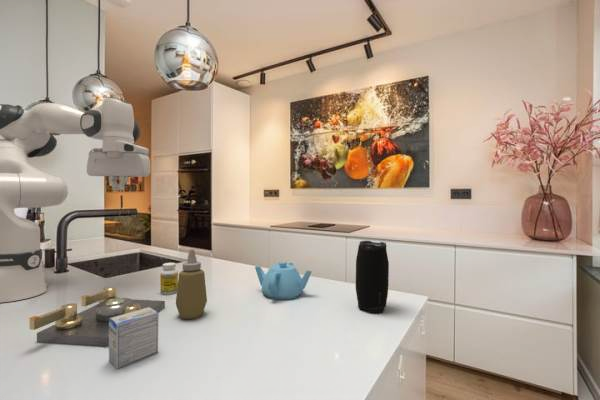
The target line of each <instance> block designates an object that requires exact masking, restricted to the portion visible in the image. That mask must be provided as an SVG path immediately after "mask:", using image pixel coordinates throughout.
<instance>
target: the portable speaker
mask: <svg viewBox="0 0 600 400" xmlns="http://www.w3.org/2000/svg"><path fill="white" fill-rule="evenodd" d="M388 256H389V255H388V252H387V243H386V242H383V241H380V242H376V241H375V242H374V241H371V240H361V241H359V244H358V248H357V255H356V260H355V293H356V300H357V307H358V309H359V310H362V309H364V310H368V311H369V313H370V314H373V315H375V314H377V315H378V314H382V313H384V311H385V309H386V306H387V300H388V295H389V278H390V277H389V275H390V274H389V273H390V272H389V270H390V267H389V266H390V265H389V263H390V262H389V257H388Z"/></svg>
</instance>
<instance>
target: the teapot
mask: <svg viewBox="0 0 600 400" xmlns="http://www.w3.org/2000/svg"><path fill="white" fill-rule="evenodd" d="M254 269H255V273H256V275H257V278H258V281H259V283H260V287H261V291H262V293H263V294H264V295H265V296H266V297H267V298H269V299H273V300H279V301H280V300H282V301H283V300H292V299H295V298H298V297H299V296H300V295H301V293H302V292H303V290H304V289H305V288H306V286H307V284H308V282H309V279H310V277H311V274H312V273H313V271H312V270H307V269H306V271H305V273H304V274H303V276H301V275H300V273H299V271H298V270H297V268H296V266H294V262H287V261H279V262H278V264H275V265H274V264H273V265H271V266H270V267H269V268H268V270H267V272H266V273H265V271H264V270H263V269H262V266H260V265H258V266H257V265H256V266H254Z"/></svg>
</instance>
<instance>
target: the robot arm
mask: <svg viewBox="0 0 600 400" xmlns="http://www.w3.org/2000/svg"><path fill="white" fill-rule="evenodd" d="M134 114H135V113H134V109H133V106H132V104H131V103H130V102H129V101H127V100H125V99H120V98H116V97H112V96H109V97H105V98H104V99H103V102H102V103H101V104H100V105H99V106H98V107H95V108H93V109H88V110H86V111H85V112H84V111H81V110H79V109H76V108H73V107H70V106H69V105H65V104H61V103H57V102H42V103H37V104H35V105H34V106H32V107H31V108H29V109H28V110H25V109H23V106H21V105H19V104H17V105H11V104H6V103H5V104H4V103H3V104H0V137H2V138H0V303H7V302H14V301H21V300H26V299H29V298H30V299H31V298H33V297H36V296H39V295H42V294H44V293H46V292H47V291H48V288H47V287H48V283H47V282H45V281H46V280H45V273H44V265H43V263H42V261H43V256H44V255H43V250H42V249H41V228H40V226H39V224H37V223H36V222H34V221H33V220H30V219H27V218H24V217H22V216H19V215H17V214H16V213H15V209H22V208H23V209H25V208H26V209H28V208H29V209H31V208H35V209H37V208H48V207H54V206H59V205H62V203H64V202H65V201H66V199H67V197H68V195H69V189H68V186H67V183H66V182H65V181H64V180H63V179H62V178H61V177H58V176H54V175H50V174H49V173H45V172H44V171H42V170H40V169H38V168H37V167H34V166H33V165H32V164H31V161H30V159H32V158H38V157H44V156H47V155H49V154H51V153H52V152H53V151H54V150H55V149H56V147H57V144H58V140H57V139H56V137H55V136H54V135H53V133H54V134H57V135H85V136H86V137H87V138H90V139H94V140H100V141H102V147H101V148H98V147H94V148H92V149H91V150H90V151H89V152H88V157H87V163H86V174H87V175H88V176H90V177H108V179H109V180H108V181H110V184H111V186H112V191H125V185H127V182H128V180H129V177H149V176H150V174H151V159H150V157H149V156H148V155H149V151H150V150H149V148H147V147H144V146H140V145H139V144H136V143H137V142H138V140H140V139H139V138H140V137H141V128H140V126H139V124H138V122H137V120H135V117H134ZM118 177H119V180H120V182H119V183H118V182H117V180H118Z"/></svg>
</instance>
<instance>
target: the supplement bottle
mask: <svg viewBox="0 0 600 400" xmlns="http://www.w3.org/2000/svg"><path fill="white" fill-rule="evenodd" d="M178 271H179V270H178V269H177V267H176V262H164V263H163V264H162V270H161V271H160V293H161V295H165V296H166V295H174V294H177V287H178V278H179V272H178Z"/></svg>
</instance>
